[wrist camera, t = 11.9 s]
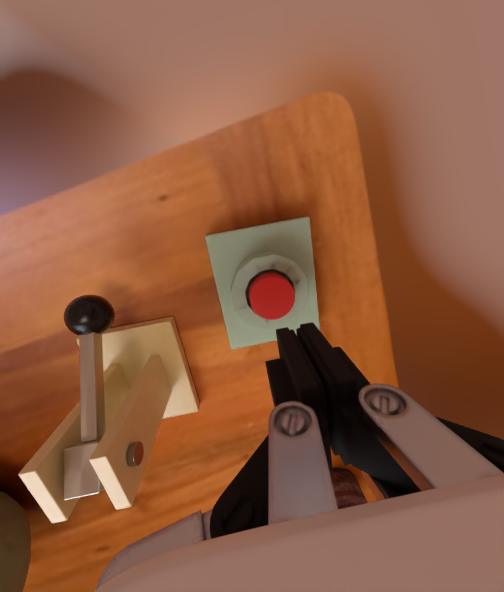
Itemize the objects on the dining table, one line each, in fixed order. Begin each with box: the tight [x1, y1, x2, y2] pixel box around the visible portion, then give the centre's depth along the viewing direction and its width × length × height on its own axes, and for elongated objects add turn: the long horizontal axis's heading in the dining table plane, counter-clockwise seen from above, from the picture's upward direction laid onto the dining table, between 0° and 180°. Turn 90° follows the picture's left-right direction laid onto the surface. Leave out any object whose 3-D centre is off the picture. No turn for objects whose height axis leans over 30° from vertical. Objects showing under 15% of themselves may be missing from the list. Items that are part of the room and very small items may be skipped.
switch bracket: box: [18, 316, 200, 523], centre depth 20 cm, size 11×9×12 cm
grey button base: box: [205, 217, 320, 349], centre depth 22 cm, size 11×9×4 cm
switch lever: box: [64, 295, 115, 500], centre depth 17 cm, size 13×3×3 cm
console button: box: [249, 272, 295, 320], centre depth 20 cm, size 4×4×2 cm
